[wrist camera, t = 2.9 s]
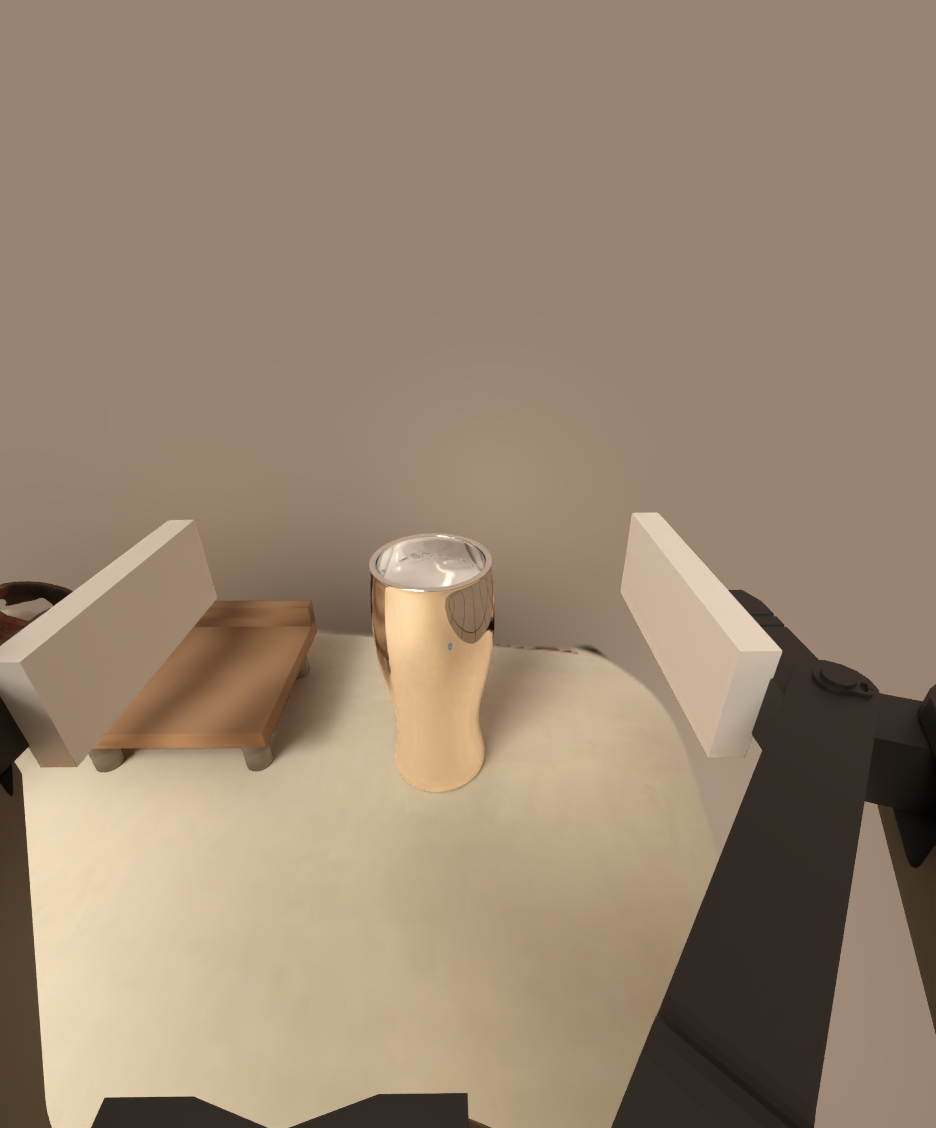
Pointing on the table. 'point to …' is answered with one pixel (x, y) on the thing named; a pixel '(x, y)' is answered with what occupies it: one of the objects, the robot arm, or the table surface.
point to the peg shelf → (219, 684)
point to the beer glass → (434, 652)
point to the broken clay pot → (23, 592)
